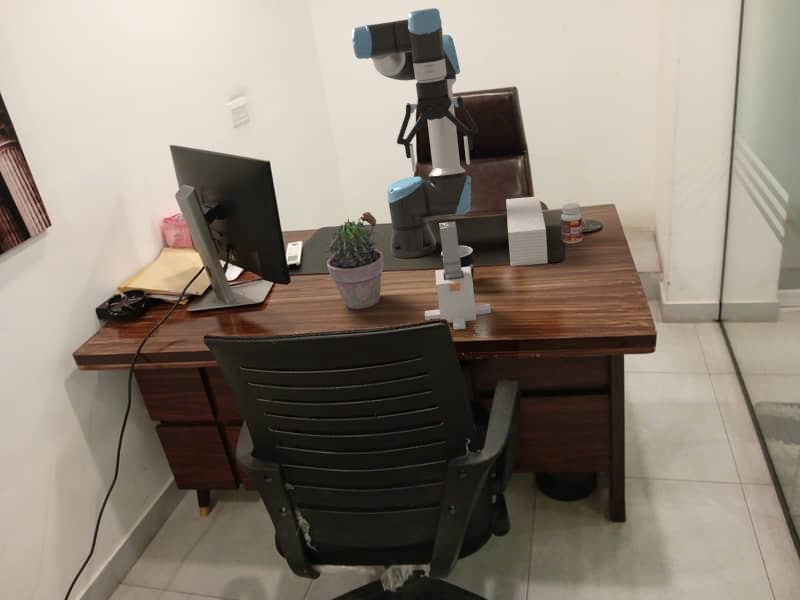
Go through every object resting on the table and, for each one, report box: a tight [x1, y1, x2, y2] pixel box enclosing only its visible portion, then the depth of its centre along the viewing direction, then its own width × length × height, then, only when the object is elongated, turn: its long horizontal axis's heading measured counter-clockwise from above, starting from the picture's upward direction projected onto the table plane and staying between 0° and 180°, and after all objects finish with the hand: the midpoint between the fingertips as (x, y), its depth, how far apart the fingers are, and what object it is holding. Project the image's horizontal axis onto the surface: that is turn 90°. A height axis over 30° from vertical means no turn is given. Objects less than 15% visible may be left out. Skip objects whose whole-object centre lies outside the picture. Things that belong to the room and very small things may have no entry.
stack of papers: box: [505, 196, 548, 267], centre depth 209 cm, size 32×11×11 cm, turn 173°
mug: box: [440, 245, 475, 281], centre depth 190 cm, size 12×9×10 cm
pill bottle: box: [560, 202, 583, 245], centre depth 207 cm, size 6×6×11 cm
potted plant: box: [320, 211, 387, 310], centre depth 184 cm, size 18×20×25 cm
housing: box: [424, 266, 492, 331], centre depth 172 cm, size 17×17×11 cm
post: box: [439, 221, 462, 280], centre depth 169 cm, size 4×4×24 cm
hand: (441, 166), depth 169 cm, fingers open, 13 cm apart
